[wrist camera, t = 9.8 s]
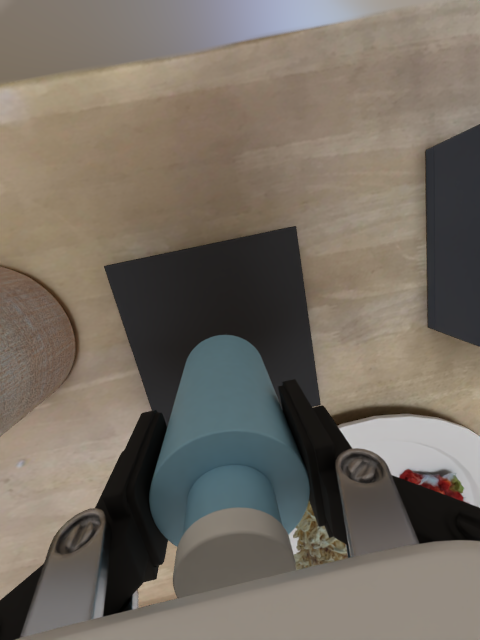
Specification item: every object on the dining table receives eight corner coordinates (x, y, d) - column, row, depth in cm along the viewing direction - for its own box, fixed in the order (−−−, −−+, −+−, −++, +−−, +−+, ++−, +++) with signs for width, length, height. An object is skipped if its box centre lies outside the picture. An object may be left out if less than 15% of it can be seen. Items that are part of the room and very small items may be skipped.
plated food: (174, 592, 28) (168, 636, 25) (318, 353, 23) (334, 370, 19) (395, 648, 34) (414, 691, 31) (557, 467, 28) (601, 495, 25)
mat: (107, 265, 20) (103, 266, 19) (293, 226, 20) (296, 225, 19) (163, 436, 24) (161, 441, 23) (318, 401, 24) (320, 405, 23)
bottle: (175, 344, 16) (93, 525, 5) (256, 326, 16) (326, 471, 5) (195, 414, 17) (160, 669, 7) (269, 398, 17) (348, 623, 7)
